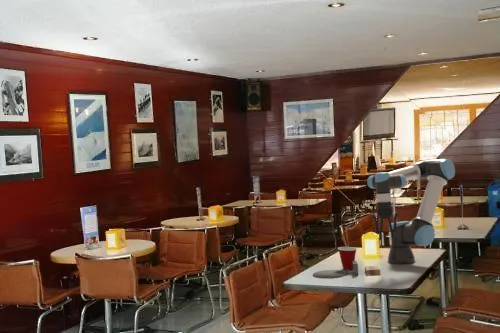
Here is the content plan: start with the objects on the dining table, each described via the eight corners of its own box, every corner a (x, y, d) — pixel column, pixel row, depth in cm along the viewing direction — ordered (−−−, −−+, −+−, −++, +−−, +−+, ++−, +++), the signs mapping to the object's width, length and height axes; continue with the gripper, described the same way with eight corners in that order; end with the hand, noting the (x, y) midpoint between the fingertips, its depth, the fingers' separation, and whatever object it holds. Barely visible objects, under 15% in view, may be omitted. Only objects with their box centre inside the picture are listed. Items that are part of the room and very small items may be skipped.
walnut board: (378, 271, 306) (377, 265, 306) (380, 275, 296) (380, 269, 296) (365, 271, 306) (364, 266, 306) (367, 275, 297) (366, 270, 296)
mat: (345, 270, 312) (345, 269, 312) (347, 277, 294) (347, 276, 294) (313, 271, 314) (313, 270, 314) (312, 278, 296) (312, 277, 296)
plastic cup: (358, 270, 309) (356, 248, 309) (338, 271, 311) (337, 249, 311) (358, 266, 320) (357, 245, 320) (339, 267, 322) (338, 246, 322)
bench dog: (357, 271, 306) (356, 260, 306) (358, 274, 298) (357, 263, 298) (353, 271, 306) (352, 261, 306) (353, 275, 298) (353, 263, 298)
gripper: (398, 199, 302) (401, 243, 303) (367, 201, 304) (370, 244, 305) (400, 201, 295) (403, 245, 295) (368, 202, 297) (371, 246, 297)
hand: (386, 244), depth 300 cm, fingers open, 3 cm apart
